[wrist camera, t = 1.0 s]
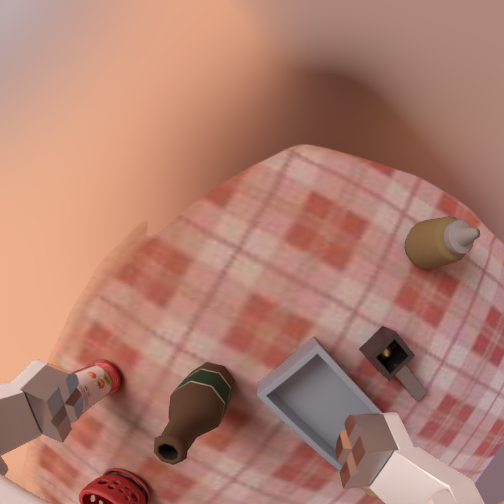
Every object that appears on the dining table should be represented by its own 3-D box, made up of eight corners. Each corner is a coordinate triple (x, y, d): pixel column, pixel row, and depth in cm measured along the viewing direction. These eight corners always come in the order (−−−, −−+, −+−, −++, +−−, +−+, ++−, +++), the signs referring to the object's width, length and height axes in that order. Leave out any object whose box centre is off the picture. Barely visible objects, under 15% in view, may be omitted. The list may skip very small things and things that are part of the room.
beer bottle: (229, 357, 49) (193, 419, 25) (239, 398, 48) (214, 480, 24) (185, 364, 49) (123, 421, 26) (196, 404, 49) (147, 479, 25)
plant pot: (100, 455, 49) (73, 480, 37) (155, 475, 48) (134, 507, 36) (104, 492, 48) (82, 518, 36) (155, 512, 47) (138, 542, 35)
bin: (387, 416, 46) (398, 430, 40) (336, 456, 46) (342, 473, 40) (313, 336, 48) (318, 344, 42) (258, 382, 48) (256, 395, 42)
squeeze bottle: (411, 278, 48) (469, 278, 30) (390, 237, 49) (442, 218, 31) (443, 255, 48) (505, 246, 30) (423, 216, 48) (480, 191, 30)
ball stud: (392, 348, 47) (399, 352, 44) (378, 361, 47) (385, 366, 44) (381, 335, 47) (388, 339, 44) (368, 348, 47) (374, 353, 44)
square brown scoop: (427, 382, 46) (442, 391, 40) (406, 403, 46) (419, 415, 40) (382, 326, 47) (395, 331, 41) (358, 349, 47) (369, 357, 41)
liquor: (88, 359, 51) (-17, 400, 23) (116, 353, 50) (10, 398, 23) (101, 394, 50) (6, 451, 22) (130, 389, 50) (36, 455, 22)
